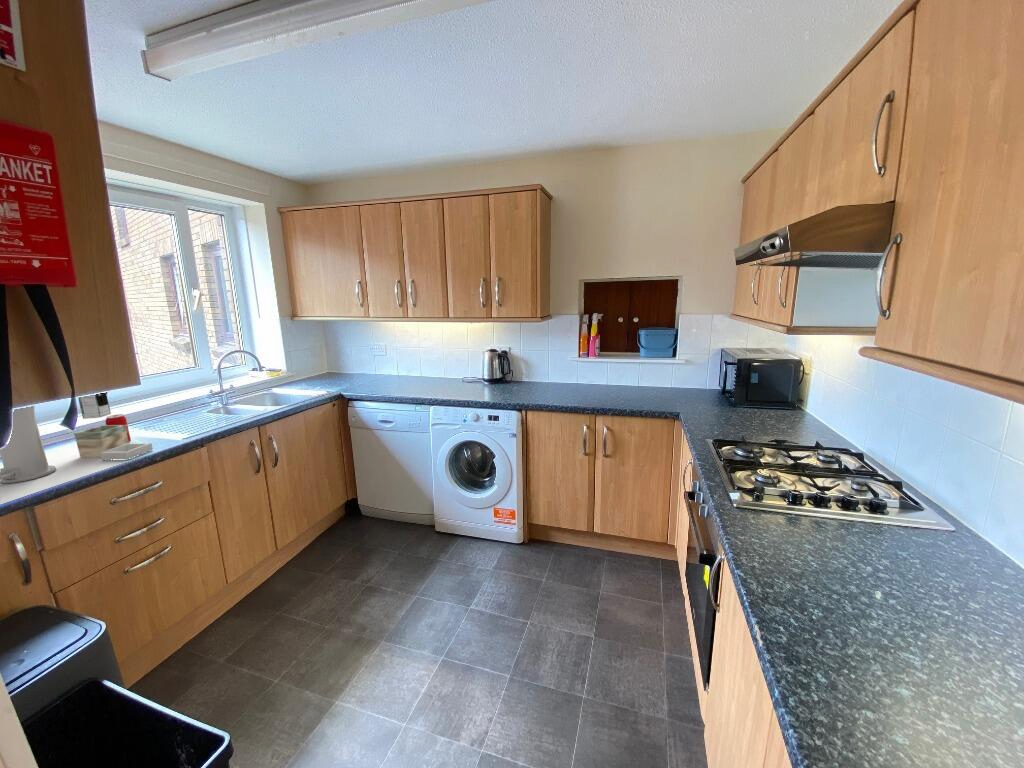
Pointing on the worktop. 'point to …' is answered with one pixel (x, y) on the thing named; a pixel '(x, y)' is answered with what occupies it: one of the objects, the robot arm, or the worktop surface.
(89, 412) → the syrup box
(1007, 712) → the worktop surface
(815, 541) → the worktop surface
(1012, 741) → the worktop surface
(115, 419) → the beverage can
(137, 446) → the grey collar
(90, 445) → the raised stand
